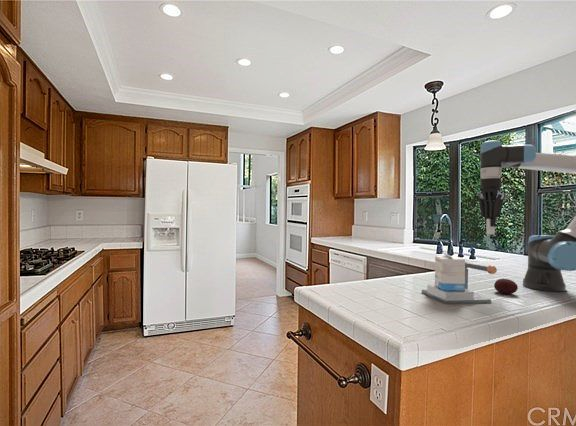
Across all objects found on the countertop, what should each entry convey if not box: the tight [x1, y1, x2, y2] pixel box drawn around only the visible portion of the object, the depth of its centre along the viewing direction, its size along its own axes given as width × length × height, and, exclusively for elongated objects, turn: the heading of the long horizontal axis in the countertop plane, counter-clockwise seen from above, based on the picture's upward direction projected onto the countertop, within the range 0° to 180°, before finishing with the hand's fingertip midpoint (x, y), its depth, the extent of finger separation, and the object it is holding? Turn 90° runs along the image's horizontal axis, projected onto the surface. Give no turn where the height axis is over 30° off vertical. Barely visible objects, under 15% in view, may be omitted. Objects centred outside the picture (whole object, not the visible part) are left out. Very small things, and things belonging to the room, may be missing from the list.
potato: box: [493, 278, 519, 295], centre depth 136 cm, size 7×8×6 cm
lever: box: [465, 261, 498, 275], centre depth 128 cm, size 16×4×3 cm, turn 22°
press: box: [421, 268, 492, 305], centre depth 128 cm, size 18×16×10 cm
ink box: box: [434, 251, 466, 291], centre depth 126 cm, size 9×8×13 cm
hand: (490, 234), depth 140 cm, fingers closed
